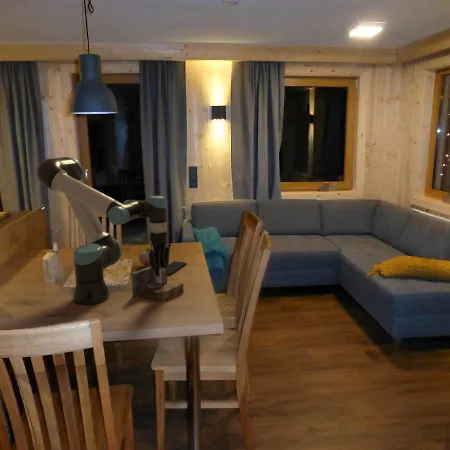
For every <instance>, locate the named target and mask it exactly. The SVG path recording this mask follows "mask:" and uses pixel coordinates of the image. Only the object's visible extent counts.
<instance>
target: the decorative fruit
mask: <svg viewBox="0 0 450 450" xmlns="http://www.w3.org/2000/svg"><path fill="white" fill-rule="evenodd" d="M138 260H139V262H140V263H141V264H143V265H144V266H146V267H150V266H151V264H150V259H149V254H148V252H147V249H142V250H140V251H139V255H138Z"/></svg>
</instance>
